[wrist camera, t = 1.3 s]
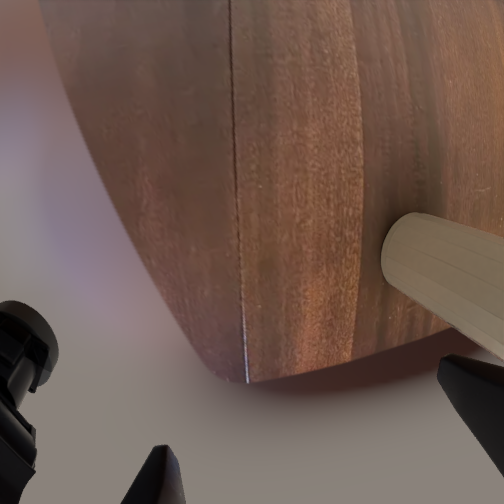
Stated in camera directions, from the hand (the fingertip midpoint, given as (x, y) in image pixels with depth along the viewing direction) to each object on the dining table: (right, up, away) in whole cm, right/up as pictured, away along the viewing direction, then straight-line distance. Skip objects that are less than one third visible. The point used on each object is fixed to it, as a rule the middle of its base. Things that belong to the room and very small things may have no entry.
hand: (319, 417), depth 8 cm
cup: (+11, +5, +15) cm, 19 cm away
